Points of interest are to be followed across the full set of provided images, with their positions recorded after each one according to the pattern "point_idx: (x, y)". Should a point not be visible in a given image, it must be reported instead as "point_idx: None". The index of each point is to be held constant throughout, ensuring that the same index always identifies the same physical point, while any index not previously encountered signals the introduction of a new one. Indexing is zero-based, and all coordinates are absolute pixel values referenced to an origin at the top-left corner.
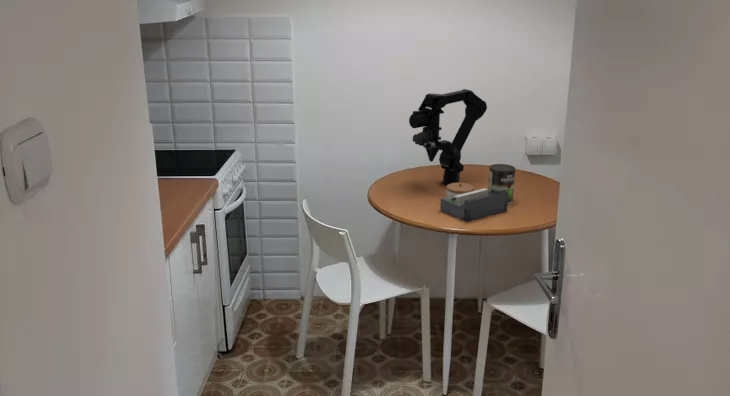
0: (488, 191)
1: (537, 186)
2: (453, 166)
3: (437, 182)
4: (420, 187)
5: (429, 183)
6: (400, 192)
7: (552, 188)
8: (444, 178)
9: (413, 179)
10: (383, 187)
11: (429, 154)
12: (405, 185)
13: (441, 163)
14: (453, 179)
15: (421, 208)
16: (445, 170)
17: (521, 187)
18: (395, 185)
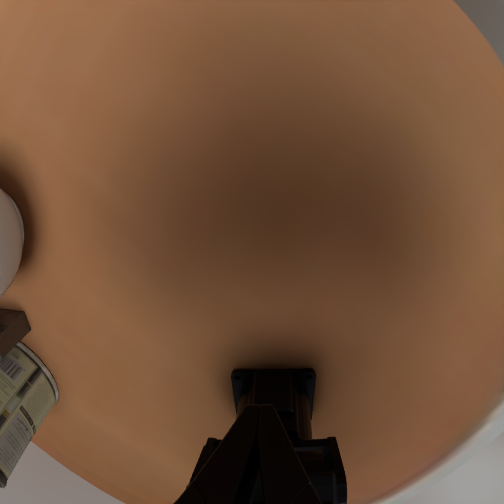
0: (2, 367)
1: (124, 491)
2: (198, 466)
3: (335, 358)
4: (328, 226)
5: (352, 317)
6: (315, 46)
7: (103, 491)
8: (280, 389)
9: (457, 284)
10: (449, 38)
11: (262, 482)
12: (416, 170)
13: (304, 459)
14: (239, 409)
15: (32, 38)
16: (286, 432)
17: (126, 477)
18: (448, 119)
